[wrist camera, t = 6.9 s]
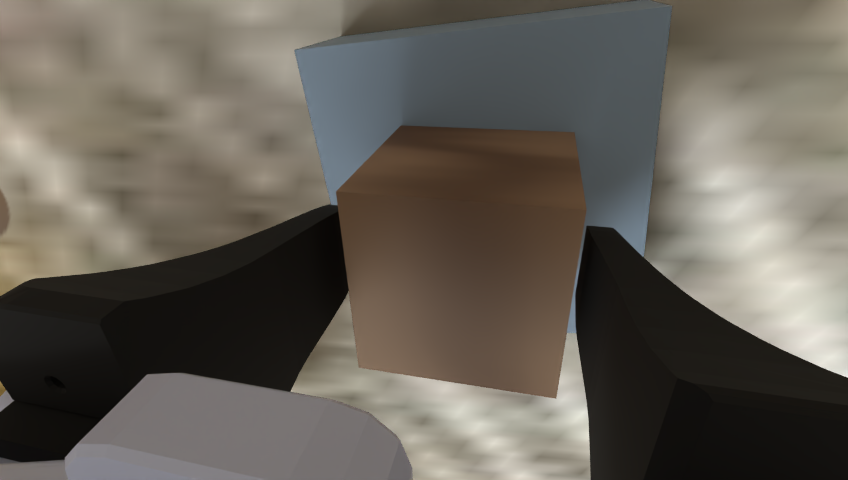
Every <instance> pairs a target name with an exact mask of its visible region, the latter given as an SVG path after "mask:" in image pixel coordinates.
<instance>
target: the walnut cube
mask: <svg viewBox="0 0 848 480" xmlns="http://www.w3.org/2000/svg"><path fill="white" fill-rule="evenodd" d="M336 197H337V204H338V212H339V220H340V227H341V235H342V243H343V250H344V258H345V266H346V273H347V281H348V288H349V296H350V304H351V311H352V319H353V327H354V334H355V342H356V350H357V357H358V365H359V368H366V369H372V370H378V371H385V372H391V373H397V374H404V375H410V376H416V377H423V378H429V379H436V380H442V381H448V382H455V383H461V384H467V385H474V386H480V387H486V388H493V389H499V390H505V391H512V392H518V393H525V394H531V395H537V396H544V397H550V398H556V396H557V390H558V384H559V377H560V371H561V365H562V359H563V353H564V346H565V340H566V334H567V328H568V322H569V316H570V309H571V303H572V297H573V291H574V285H575V278H576V272H577V266H578V260H579V254H580V247H581V241H582V235H583V229H584V223H585V217H586V210H587V209H586V203H585V196H584V190H583V184H582V177H581V171H580V164H579V158H578V151H577V145H576V139H575V132H556V131H530V130H505V129H479V128H454V127H428V126H403V125H401V126H400V127H399V128H398V129H397V130H396V131H395V132H394V133H393V134H392V135H391V136H390V137H389V138H388V139H387V140H386V141H385V142H384V143H383V144H382V145H381V146H380V147H379V148H378V149H377V150H376V151H375V152H374V153H373V154H372V155H371V156H370V157H369V158H368V159H367V160H366V161H365V162H364V163H363V164H362V165H361V166H360V167H359V168H358V169H357V170H356V171H355V173H354V174H353V175H352V176H351V177H350V178H349V179H348V180H347V181H346V182H345V183H344V184H343V185H342V186H341V187H340V188H339V189H338V190H337V191H336Z"/></svg>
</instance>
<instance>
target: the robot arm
mask: <svg viewBox="0 0 848 480" xmlns="http://www.w3.org/2000/svg"><path fill="white" fill-rule="evenodd" d="M348 291H349V288H348V281H347V273H346V266H345V258H344V250H343V243H342V235H341V227H340V220H339V212H338V205H326V206H322V207H319V208H316V209H314V210H311V211H309V212H306V213H304V214H301V215H299V216H297V217H294V218H292V219H290V220H287V221H285V222H283V223H280V224H278V225H276V226H274V227H271V228H269V229H266V230H264V231H261V232H259V233H256V234H253V235H251V236H248V237H246V238H243V239H241V240H238V241H235V242H233V243H230V244H227V245H224V246H221V247H218V248H214V249H211V250H208V251H204V252H201V253H197V254H194V255H190V256H186V257H181V258H177V259H173V260H168V261H164V262H159V263H155V264H150V265H145V266H139V267H134V268H128V269H121V270H114V271H107V272H100V273H92V274H82V275H71V276H60V277H49V278H35V279H32V280H29V281H26V282H24V283H22V284H20V285H19V286H17V287H15V288H14V289H12V290H10V291H9V292H7V293H5V294H3V295H2V296H0V381H1V383H2V384H3V386H4V387H5V389H6V391H5V392H4V394H3V395H2V396H1V397H0V480H413V473H412V466H411V464H410V462H409V460H408V457H407V455H406V453H405V450H404V448H403V446H402V444H401V441H400V440H399V438H398V437H397V436H396V435H395V434H394V433H393V432H392V431H391V430H389V429H388V428H387V427H386V426H385V425H383V424H382V423H381V422H380V421H379V420H377V419H376V418H375V417H374V416H372V415H371V414H370V413H369V412H366V411H363V410H361V409H358V408H355V407H352V406H350V405H347V404H344V403H342V402H339V401H336V400H333V399H327V398H321V397H316V396H310V395H305V394H299V393H293V392H290V391H291V389H292V387H293V385H294V383H295V381H296V378H297V376H298V374H299V372H300V370H301V369H302V367H303V365H304V363H305V362H306V360H307V358H308V356H309V355H310V353H311V352H312V350H313V349H314V347H315V345H316V344H317V342H318V341H319V339H320V338H321V336H322V334H323V333H324V331H325V330H326V328H327V327H328V325H329V323H330V322H331V320H332V319H333V317H334V315H335V314H336V312H337V311H338V309H339V307H340V306H341V304H342V302H343V301H344V299H345V297H346V295H347V293H348ZM575 322H576V333H577V340H578V347H579V354H580V360H581V367H582V373H583V380H584V386H585V393H586V399H587V408H588V417H589V439H590V468H591V480H848V378H847V377H844V376H842V375H839V374H836V373H834V372H831V371H828V370H826V369H824V368H821V367H819V366H817V365H815V364H812V363H810V362H808V361H806V360H803V359H801V358H799V357H797V356H794V355H792V354H790V353H788V352H786V351H783V350H781V349H779V348H777V347H775V346H773V345H771V344H769V343H767V342H765V341H763V340H761V339H759V338H758V337H756V336H754V335H752V334H750V333H748V332H747V331H745V330H743V329H741V328H739V327H738V326H736V325H734V324H732V323H730V322H729V321H727V320H725V319H724V318H722V317H720V316H719V315H717V314H716V313H714V312H713V311H711V310H710V309H708V308H707V307H705V306H704V305H702V304H701V303H699V302H698V301H696V300H695V299H693V298H692V297H690V296H689V295H688V294H686V293H685V292H684V291H682V290H681V289H680V288H678V287H677V286H676V285H675V284H674V283H672V282H671V281H670V280H669V279H667V278H666V277H665V276H664V275H663V274H661V273H660V272H659V271H658V270H657V269H656V268H654V267H653V266H652V265H651V264H650V263H649V262H648V261H647V260H646V259H645V258H644V257H643V256H642V255H641V254H640V253H638V252H637V251H636V250H635V249H634V248H633V247H632V246H631V245H630V244H629V243H628V242H627V241H626V240H625V239H624V238H623V237H622V236H621V235H620V234H619V233H618V232H617V231H616V230H615V229H614V228H611V227H599V226H586V232H585V238H584V244H583V250H582V256H581V262H580V268H579V274H578V280H577V286H576V292H575Z"/></svg>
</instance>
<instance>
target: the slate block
mask: <svg viewBox="0 0 848 480" xmlns="http://www.w3.org/2000/svg"><path fill="white" fill-rule="evenodd" d="M671 12H672V6H670V5H666V4H663V3H659V2H655V1H651V0H636V1H627V2H619V3H611V4H603V5H594V6H586V7H578V8H570V9H562V10H553V11H545V12H537V13H529V14H521V15H512V16H504V17H496V18H488V19H479V20H471V21H463V22H455V23H447V24H438V25H430V26H422V27H414V28H405V29H397V30H389V31H381V32H373V33H364V34H356V35H348V36H340V37H337V38H334V39H330V40H327V41H323V42H320V43H317V44H313V45H310V46H306V47H303V48H300V49H296V50H294V51H295V55H296V59H297V63H298V68H299V72H300V76H301V80H302V84H303V89H304V93H305V97H306V101H307V105H308V110H309V114H310V118H311V122H312V126H313V131H314V135H315V139H316V143H317V147H318V152H319V156H320V160H321V164H322V168H323V173H324V177H325V181H326V185H327V189H328V193H329V198H330V202H331V205H338V204H337V197H336V191H337V190H338V189H339V188H340V187H341V186H342V185H343V184H344V183H345V182H346V181H347V180H348V179H349V178H350V177H351V176H352V175H353V174H354V173H355V171H356V170H357V169H358V168H359V167H360V166H361V165H362V164H363V163H364V162H365V161H366V160H367V159H368V158H369V157H370V156H371V155H372V154H373V153H374V152H375V151H376V150H377V149H378V148H379V147H380V146H381V145H382V144H383V143H384V142H385V141H386V140H387V139H388V138H389V137H390V136H391V135H392V134H393V133H394V132H395V131H396V130H397V129H398V128H399V127H400V126H401V125H403V126H428V127H454V128H479V129H505V130H530V131H556V132H575V139H576V145H577V151H578V158H579V164H580V171H581V177H582V184H583V190H584V196H585V203H586V209H587V210H586V217H585V223H584V229H583V235H582V241H581V247H580V254H579V260H578V266H577V272H576V278H575V285H574V291H573V297H572V303H571V309H570V316H569V322H568V328H567V333H576V322H575V292H576V286H577V280H578V274H579V268H580V262H581V256H582V250H583V244H584V238H585V232H586V226H599V227H611V228H614V229H615V230H616V231H617V232H618V233H619V234H620V235H621V236H622V237H623V238H624V239H625V240H626V241H627V242H628V243H629V244H630V245H631V246H632V247H633V248H634V249H635V250H636V251H637V252H638V253H640V254H641V255H642V256H643V257H644V250H645V241H646V232H647V223H648V214H649V206H650V197H651V188H652V179H653V170H654V162H655V153H656V144H657V135H658V126H659V118H660V109H661V100H662V91H663V82H664V74H665V65H666V56H667V47H668V38H669V30H670V21H671Z"/></svg>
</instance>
